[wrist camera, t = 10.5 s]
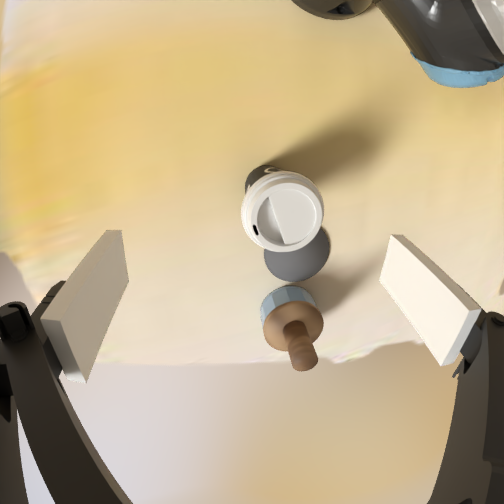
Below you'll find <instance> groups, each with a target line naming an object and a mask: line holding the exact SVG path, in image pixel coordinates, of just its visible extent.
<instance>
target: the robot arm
mask: <svg viewBox="0 0 504 504" xmlns="http://www.w3.org/2000/svg"><path fill="white" fill-rule="evenodd" d="M292 1H293V2H294V3H295V4H296V5H298V6H299V7H300V8H302V9H303V10H305V11H307V12H309V13H311V14H313V15H316V16H318V17H322V18H326V19H332V20H343V19H349V18H352V17H354V16H356V15H358V14H360V13H362V12H363V11H365V10H366V9H367V8H368V7H369V6H370V5H371V3H372V1H373V2H374V3H375V4H376V5H377V7H378V8H379V9H380V10H381V12H382V13H383V14H384V15H385V17H386V18H387V19H388V20H389V22H390V23H391V24H392V26H393V27H394V28H395V30H396V31H397V32H398V34H399V35H400V36H401V38H402V39H403V41H404V42H405V43H406V45H407V46H408V48H409V49H410V53H411V55H412V56H413V58H414V59H415V60H417V61H418V62H419V64H420V65H421V67H422V68H423V70H424V71H425V73H426V74H427V75H428V77H429V78H430V79H432V80H434V81H435V82H436V83H438V84H440V85H443V86H447V87H453V88H470V87H478V86H483V85H486V84H487V82H495V81H497V80H499V79H500V78H502V77H503V76H504V0H292ZM379 1H380V2H379ZM128 282H129V279H128V273H127V267H126V260H125V253H124V246H123V238H122V230H106V232H105V233H104V234H103V235H102V236H101V237H100V239H99V240H98V241H97V242H96V244H95V245H94V246H93V247H92V248H91V250H90V251H89V252H88V253H87V255H86V256H85V257H84V259H83V260H82V261H81V262H80V264H79V265H78V266H77V268H76V269H75V270H74V271H73V273H72V274H71V275H70V277H69V278H68V279H67V281H60V282H59V283H57V284H56V285H54V286H53V287H52V288H51V289H50V290H49V292H48V293H47V294H46V297H44V298H43V300H42V301H41V303H40V304H39V305H38V307H37V308H36V309H35V311H34V312H33V314H32V315H31V316H30V314H29V312H28V309H27V307H26V305H25V304H24V303H22V302H10V303H7V304H5V305H3V306H1V307H0V338H1V339H0V504H29V503H28V498H27V493H26V488H25V483H24V477H23V471H22V464H21V456H20V448H19V437H18V422H17V410H18V413H19V416H20V420H21V423H22V426H23V429H24V432H25V435H26V438H27V440H28V443H29V446H30V448H31V451H32V454H33V456H34V459H35V461H36V464H37V466H38V468H39V470H40V473H41V475H42V477H43V479H44V481H45V484H46V486H47V488H48V490H49V492H50V494H51V496H52V498H53V500H54V502H55V504H133V503H132V502H131V500H130V499H129V498H128V497H127V495H126V494H125V493H124V491H123V490H122V489H121V487H120V485H119V484H118V483H117V481H116V480H115V478H114V477H113V475H112V474H111V473H110V471H109V470H108V468H107V466H106V465H105V463H104V462H103V460H102V459H101V457H100V455H99V454H98V452H97V450H96V449H95V447H94V445H93V444H92V442H91V440H90V439H89V437H88V435H87V433H86V431H85V430H84V428H83V426H82V424H81V422H80V420H79V418H78V416H77V414H76V412H75V411H74V409H73V407H72V405H71V403H70V401H69V398H68V396H67V394H66V392H65V390H64V387H63V385H62V383H61V381H60V379H59V375H60V373H61V371H62V369H63V371H64V374H65V375H66V377H67V379H68V380H70V381H76V382H82V383H87V380H88V377H89V375H90V372H91V369H92V367H93V364H94V362H95V359H96V356H97V354H98V351H99V349H100V346H101V344H102V341H103V339H104V336H105V334H106V332H107V329H108V327H109V325H110V322H111V320H112V318H113V315H114V313H115V311H116V308H117V306H118V304H119V302H120V299H121V297H122V295H123V293H124V291H125V289H126V286H127V284H128ZM379 282H380V283H381V284H382V285H383V287H384V288H385V289H386V291H387V292H388V293H389V295H390V296H391V297H392V298H393V300H394V301H395V302H396V304H397V305H398V306H399V308H400V309H401V310H402V312H403V313H404V315H405V316H406V317H407V319H408V320H409V321H410V323H411V324H412V326H413V327H414V328H415V330H416V331H417V333H418V334H419V335H420V337H421V338H422V340H423V341H424V342H425V344H426V345H427V347H428V348H429V350H430V351H431V353H432V354H433V356H434V357H435V359H436V360H437V361H438V363H439V364H440V366H443V365H447V364H451V363H454V361H455V359H456V357H457V356H458V354H459V352H461V353H462V355H463V356H464V357H463V359H462V361H461V362H460V364H459V366H458V367H457V369H456V370H455V372H454V374H453V376H452V377H453V378H454V377H455V376H456V374H458V373H459V376H458V386H457V392H456V399H455V405H454V411H453V416H452V422H451V427H450V431H449V436H448V440H447V444H446V448H445V453H444V457H443V460H442V464H441V467H440V471H439V474H438V477H437V480H436V484H435V487H434V490H433V493H432V496H431V498H430V500H429V501H428V503H427V504H504V316H503V315H501V314H499V313H497V312H488V313H486V312H485V311H484V310H483V309H482V308H481V307H480V306H479V305H478V304H477V303H476V302H475V301H474V300H473V299H472V298H471V297H470V296H469V295H468V294H467V293H466V292H465V291H464V290H463V289H462V288H461V287H460V286H459V285H458V284H457V283H456V282H454V281H453V280H452V279H451V278H450V277H449V276H448V275H447V274H446V273H445V272H444V271H443V270H442V269H441V268H440V267H439V266H437V265H436V264H435V263H434V262H433V261H432V260H431V259H430V258H429V257H428V256H426V255H425V254H424V253H423V252H422V251H421V250H420V249H419V248H417V247H416V246H415V245H414V244H413V243H412V242H410V241H409V240H408V239H407V238H406V237H405V236H403V235H391V237H390V241H389V245H388V249H387V253H386V257H385V261H384V265H383V268H382V272H381V276H380V279H379Z"/></svg>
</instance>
